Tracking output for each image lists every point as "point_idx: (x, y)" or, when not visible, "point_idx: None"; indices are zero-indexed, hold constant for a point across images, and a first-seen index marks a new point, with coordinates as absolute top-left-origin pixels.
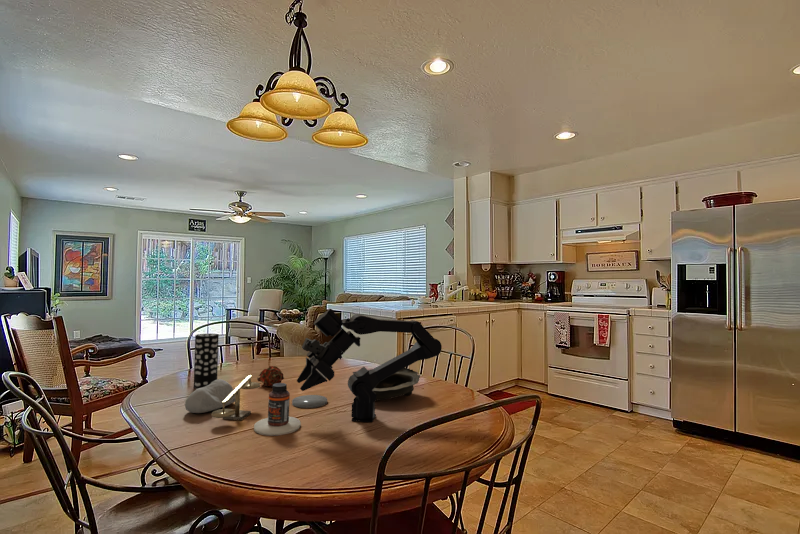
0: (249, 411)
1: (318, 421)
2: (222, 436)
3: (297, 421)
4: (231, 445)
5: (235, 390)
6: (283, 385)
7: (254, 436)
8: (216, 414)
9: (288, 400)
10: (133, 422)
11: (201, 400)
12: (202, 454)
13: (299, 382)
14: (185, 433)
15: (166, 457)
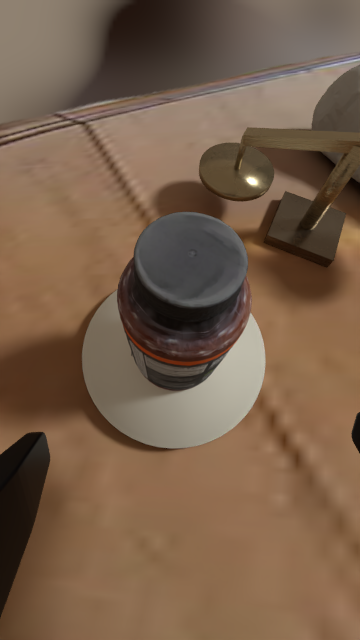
0: (326, 256)
1: (211, 551)
2: (136, 205)
3: (183, 433)
4: (56, 226)
5: (338, 136)
6: (159, 279)
7: (105, 280)
8: (216, 153)
9: (153, 361)
10: (275, 66)
11: (332, 107)
12: (24, 174)
13: (357, 442)
14: (183, 138)
15: (42, 122)
